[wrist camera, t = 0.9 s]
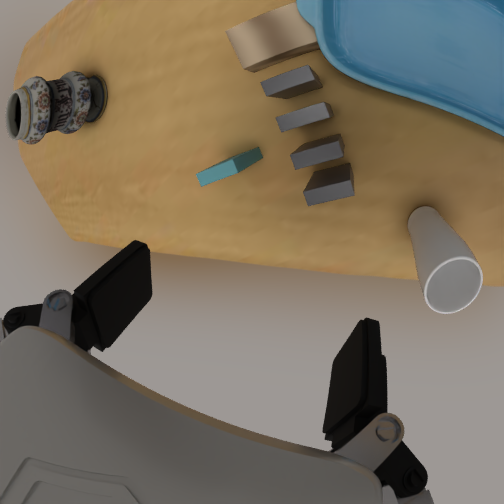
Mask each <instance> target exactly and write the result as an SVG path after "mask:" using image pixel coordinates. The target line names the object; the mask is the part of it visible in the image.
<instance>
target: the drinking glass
mask: <svg viewBox="0 0 504 504" xmlns="http://www.w3.org/2000/svg"><path fill="white" fill-rule="evenodd" d="M408 231H409V234H410V237H411V242H412V247H413V252H414V258H415V264H416V270H417V275H418V279H419V283H420V286H421V289H422V292H423V295H424V298H425V301H426V303H427V305H428V306H429V307H430V308H431V309H432V310H434V311H435V312H438V313H442V314H450V313H454V312H458V311H460V310H462V309H464V308H465V307H466V306H468V305H469V304H470V303H472V302H473V300H474V299H475V298H476V296H477V295H478V293H479V291H480V289H481V286H482V282H483V274H482V270H481V267H480V265H479V263H478V261H477V259H476V258H475V256H474V254H473V252H472V251H471V249H470V248H469V246H468V245H467V244H466V242H465V241H464V240H463V239H462V238H461V237H460V236H459V234H458V233H457V232H456V231H455V230H454V229H453V228H452V227H451V226H450V225H449V224H448V223H447V222H446V221H445V220H444V219H443V218H442V217H441V215H440V214H439V213H438V211H437V210H435V209H434V208H432V207H429V206H423V207H419V208H417V209H416V210H414V211H413V212H412V214H411V215H410V217H409V219H408Z"/></svg>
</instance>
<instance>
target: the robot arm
mask: <svg viewBox="0 0 504 504" xmlns="http://www.w3.org/2000/svg"><path fill="white" fill-rule="evenodd" d="M151 297H152V280H151V263H150V249H149V248H148V246H147V244H145V243H143V242H140V241H137V240H134V241H133V242H131V243H130V244H129V245H127V246H126V247H125V248H124V249H122V250H121V251H120V252H119V253H117V254H116V255H115V256H114V257H113V258H112V259H110V260H109V261H108V262H106V263H105V264H104V265H103V266H102V267H101V268H99V269H98V270H97V271H96V272H95V273H93V274H92V275H91V276H90V277H89V278H88V279H87V280H85V281H84V282H83V283H82V284H81V285H80V286H78V287H77V288H76V289H75V290H74V294H73V295H71V293H70V292H68V291H66V290H55V291H53V292H51V293H50V294H48V295H47V296H46V298H45V299H44V302H43V304H36V305H28V306H21V307H15V308H13V309H11V310H9V311H8V312H7V313H6V315H5V317H4V320H2V318H0V504H434V502H433V499H432V497H431V494H430V491H429V490H426V489H425V486H426V483H427V479H428V475H427V471H426V469H425V468H424V466H423V465H422V464H421V463H420V461H419V460H418V459H417V458H416V457H415V455H414V454H413V453H412V452H411V451H410V449H409V448H408V447H407V446H406V445H405V443H404V442H403V441H402V439H403V436H404V426H403V423H402V421H401V420H400V419H399V418H398V417H397V416H396V415H394V414H391V413H387V367H386V357H385V356H384V355H382V352H381V337H380V325H379V321H376V320H373V319H370V318H365V319H364V320H360V321H359V322H358V324H357V325H356V327H355V328H354V330H353V332H352V333H351V335H350V336H349V338H348V339H347V341H346V342H345V344H344V345H343V347H342V348H341V350H340V351H339V353H338V354H337V356H336V357H335V359H334V361H333V365H332V372H331V380H330V387H329V394H328V401H327V407H326V413H325V419H324V425H323V433H326V435H325V440H329V441H332V446H331V447H332V449H331V450H330V451H323V450H319V449H315V448H311V447H307V446H303V445H299V444H294V443H291V442H287V441H283V440H279V439H276V438H272V437H269V436H265V435H262V434H259V433H255V432H252V431H249V430H246V429H243V428H240V427H237V426H234V425H231V424H228V423H226V422H223V421H221V420H217V419H215V418H213V417H210V416H207V415H205V414H203V413H200V412H198V411H195V410H193V409H191V408H188V407H186V406H184V405H182V404H179V403H177V402H175V401H173V400H171V399H169V398H167V397H165V396H162V395H160V394H158V393H156V392H154V391H152V390H151V389H148V388H147V387H145V386H143V385H141V384H139V383H137V382H135V381H134V380H132V379H130V378H128V377H127V376H125V375H123V374H121V373H120V372H118V371H116V370H114V369H113V368H111V367H110V366H108V365H106V364H105V363H103V362H101V361H100V360H98V359H97V358H95V357H93V356H92V355H91V348H92V347H93V346H94V347H95V348H97V349H98V350H100V351H102V352H103V350H104V349H105V348H109V347H110V346H111V345H112V344H113V343H114V342H115V340H116V339H117V338H118V337H119V335H120V334H121V333H122V332H123V330H125V328H126V327H127V326H128V325H129V324H130V322H131V321H132V320H133V319H134V318H135V316H136V315H137V314H138V313H139V312H140V311H141V310H142V308H143V307H144V306H145V305H146V304H147V303H148V302H149V300H150V299H151Z"/></svg>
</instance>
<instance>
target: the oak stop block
mask: <svg viewBox="0 0 504 504" xmlns="http://www.w3.org/2000/svg"><path fill="white" fill-rule="evenodd" d="M225 32H226V34H227V36H228V38H229V40H230V42H231V44H232V46H233V48H234V50H235V52H236V54H237V56H238V59H239V61H240V63H241V65H242V67H243V69H245V70H248V71H251V72H257V71H259V70H261V69H264V68H266V67H269V66H271V65H274V64H277V63H279V62H282V61H285V60H287V59H290V58H293V57H296V56H299V55H302V54H305V53H308V52H311V51H314V50H318V49H320V47H319V44H318V41H317V37H316V33H315V29H314V28H313V26H311V25H310V24H309V23H308V22H307V21H306V20H305V19H304V18H303V17H302V16H301V15H300V13H299V11H298V8H297V3H296V2H294V3H291V4H288V5H285V6H282V7H280V8H277V9H274V10H272V11H269V12H267V13H264V14H262V15H259V16H257V17H255V18H252V19H250V20H248V21H246V22H243V23H241V24H239V25H237V26H235V27H233V28H231V29H229V30H227V31H225Z"/></svg>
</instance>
